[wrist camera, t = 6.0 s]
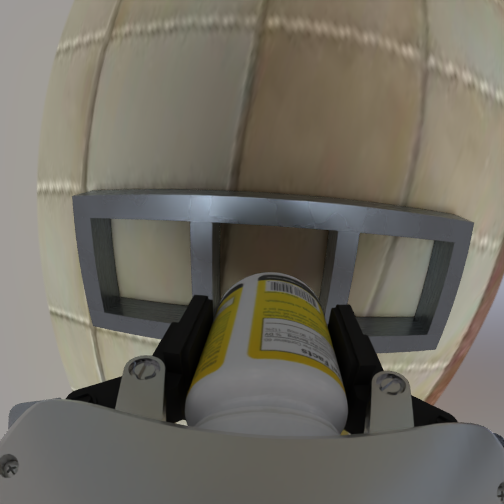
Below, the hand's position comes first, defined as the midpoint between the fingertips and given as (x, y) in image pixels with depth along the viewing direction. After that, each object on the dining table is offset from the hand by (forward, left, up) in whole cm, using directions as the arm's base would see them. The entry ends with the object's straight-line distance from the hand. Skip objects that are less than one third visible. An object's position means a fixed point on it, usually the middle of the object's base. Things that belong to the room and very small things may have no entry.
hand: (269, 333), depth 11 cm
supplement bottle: (0, 0, -2) cm, 2 cm away
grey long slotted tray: (0, 0, -7) cm, 7 cm away
